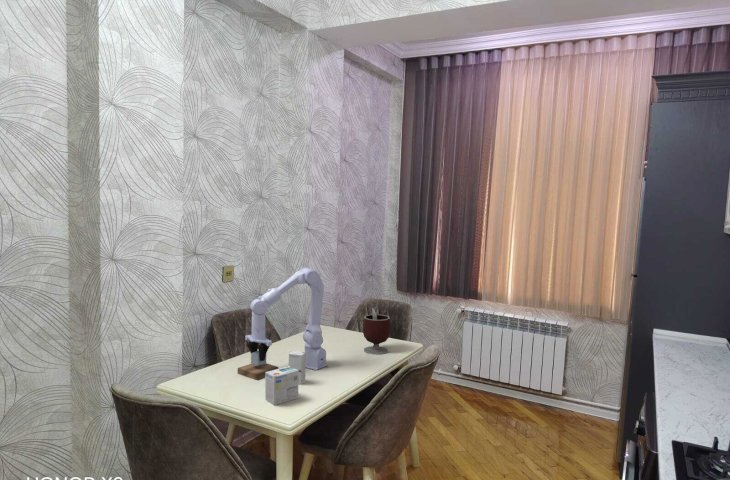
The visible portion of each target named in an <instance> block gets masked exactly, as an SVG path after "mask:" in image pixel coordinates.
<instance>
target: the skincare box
mask: <svg viewBox="0 0 730 480" xmlns="http://www.w3.org/2000/svg"><path fill="white" fill-rule="evenodd" d="M288 366H290V367H292V368H295V369H297V370H298V385H303V384H304V383H305V382H306V353H305V351H304V352H303V351H297V350H293V351H291V352H289V353H288Z"/></svg>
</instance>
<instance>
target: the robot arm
mask: <svg viewBox="0 0 730 480" xmlns="http://www.w3.org/2000/svg"><path fill="white" fill-rule="evenodd" d="M305 284H306V285H308V287H310V288H311V296H310V304H309V313H308V314H309V315H308V323H307V325H306V326H305V331H304V332H303V335H302V338H303V341H304V342H305V343H304V352H305V353H306V368H307V369H309V370H310V369H311V370H313V371H317V370H319V369H323V368H325V367H328V364H327V351H326V349H325V348H323V347H322V344H323V342H324V338H323V335H322V334H323V331H322V327H321V319H322V310H323V302H324V290H325V285H324V283H323V280H322V278H321V274H320V273H319V272H318V271H316V270H315V269H311V268H309V267H306V266H305V267H302V268H301V269H299V270H297V271H295V273H294V274H292V275H291V276H290V277H289V278H287V279H286V280H285V281H284V282H282V284H280V285H279V286H278V287H272V288H269V289H267V292H265V293H264V294H263V295H259V296H258V297H257V298H255V299H253V300H252V301H251V303H250V305H249V308H250V310H251V311H252V312H251V334H246V335H245V341H248V342H246V346H247V347H248V350H249V352H250V354H251V353H253V352H256V351H259V358H260V361H264V360H265V357H266V358H267V353H268V350H269V349H270V346H272V345H273V341H272V340H270V339H269V338H267V337H266V313H267V311H268V309H269V308H271V307H272V306H273V305H274V304H275V303H277V302H278V301H280V300H281V299H282V295H283V294H284V293H286V292H288V291H289V290H290V289H292V288H293V287H294V286H297V285H305Z"/></svg>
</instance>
